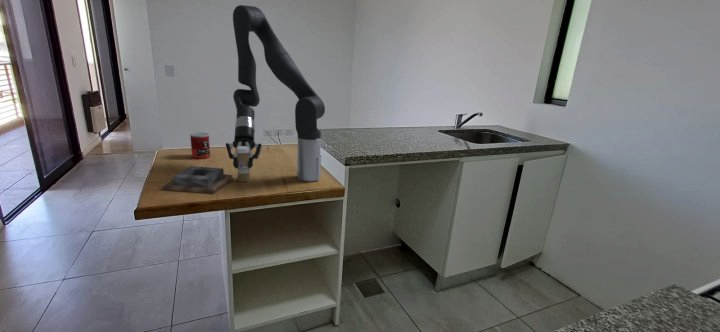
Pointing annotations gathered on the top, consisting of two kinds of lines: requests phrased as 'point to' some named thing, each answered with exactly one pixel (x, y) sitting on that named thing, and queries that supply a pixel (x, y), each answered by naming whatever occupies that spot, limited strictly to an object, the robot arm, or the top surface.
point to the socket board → (200, 189)
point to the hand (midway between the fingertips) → (242, 167)
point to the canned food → (200, 145)
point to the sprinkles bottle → (243, 163)
